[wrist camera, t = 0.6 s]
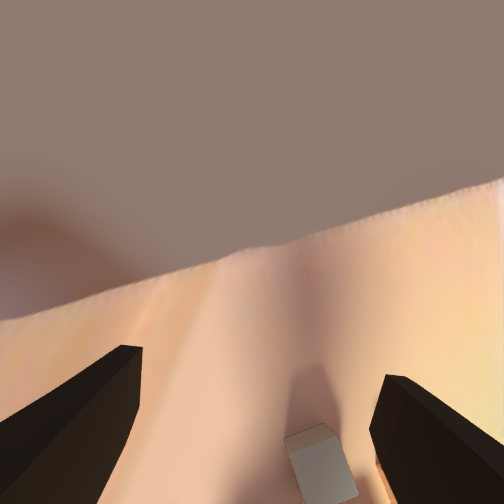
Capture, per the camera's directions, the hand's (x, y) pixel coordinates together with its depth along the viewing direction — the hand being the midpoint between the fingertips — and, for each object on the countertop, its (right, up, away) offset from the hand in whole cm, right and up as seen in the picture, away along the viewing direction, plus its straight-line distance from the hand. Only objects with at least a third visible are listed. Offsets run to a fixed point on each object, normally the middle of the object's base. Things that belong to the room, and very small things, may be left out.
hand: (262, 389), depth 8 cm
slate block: (+6, -17, +20) cm, 27 cm away
